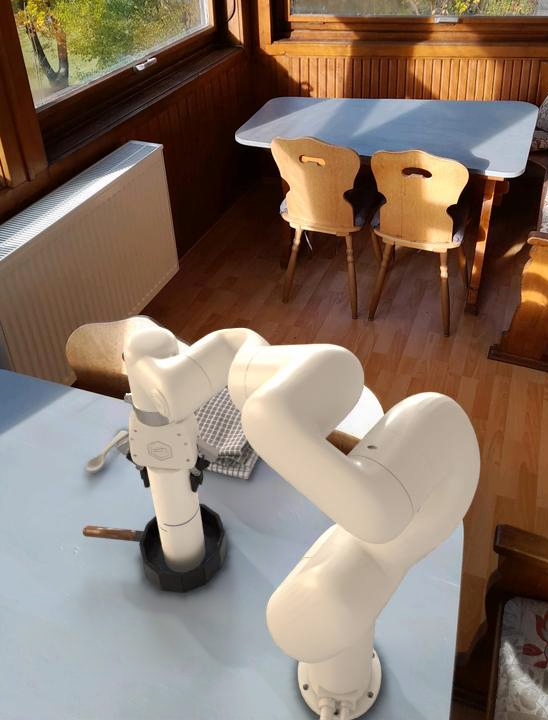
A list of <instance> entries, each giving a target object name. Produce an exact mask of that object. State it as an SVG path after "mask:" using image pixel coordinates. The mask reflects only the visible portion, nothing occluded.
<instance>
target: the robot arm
mask: <svg viewBox="0 0 548 720" xmlns="http://www.w3.org/2000/svg"><path fill="white" fill-rule="evenodd" d="M122 349H123V351H122V352H123V360H124V364H125V365H124V366H125V369H126V374H127V379H128V384H129V389H130V393H125V394H124V399H123V401H124V403H125V404H126V403H127V404H130V406H132V409H130V412H129V419H128V433H129V435H128V436H127V437H125V438H124V439H122V440H121V441H119V442H118V443H117V445H116V450H117V451H118V452H120V453H121V455H123V456H125V458H126V460H127V461H129V462H130V463H132V464H133V465H135V467H134V469H136V470H137V471H139V474H140V479H141V480H142V482H143V488H145V489H149V488H151V487H150V482H149V476H148V471H147V467H156V468H167V469H180V470H187V469H189V470H190V471H191V474H190V482H191V489H192V491H193V492H197V493H198V489H199V486H202V485H203V482H204V480H205V479H204V478H205V477H204V470H207V469H206V468H207V467H209V465H210V464H211V463H213V462H214V461H215V460H216V459H217V458H218V455H219V450H218V449H216V448H215V447H213V446H211V445H210V444H208V443H207V442H205V441H203V440H202V439H201V436H200V431H199V427H198V423H197V420H196V417H195V413H196V411H197V410H198V409H199V408H200V407H201V406H203V405H204V404H205V403H206V402H208V401H209V400H210V399H211V398H212V397H214V396H215V395H216V394H217V393H219V392H220V391H221V390H222V389H224V388H227V389H228V390H229V394H230V397H231V400H232V402H233V404H234V405H235V407H236V408H237V409H238V410H239V411H241V412H242V414H241V424H242V428H243V432H244V434H245V437H246V438H247V440H248V442H249V444H250V445H251V447H252V448H253V449H254V450H255V451H256V453H257V454H258V455H259V457H260V459H262V461H264V462H265V463H266V464H267V465H268V466H269V467H270V468H271V469H272V470H273V471H275V472H276V473H277V474H278V475H279V476H280V477H281V478H282V479H284V480H285V481H286V482H287V483H289V485H291V486H292V487H293V488H294V489H296V490H297V491H298V492H299V493H301V495H303V496H304V497H305V498H306V499H308V500H309V501H310V502H311V503H312V504H313V505H315V506H316V507H317V508H318V509H319V510H321V512H323V514H325V515H326V516H328V518H330V519H331V520H332V521H333V522H334V523H335V524H333V525H331V526H330V527H329V528H328V529H326V530H325V531H324V532H323V533H322V534H321V535H320V536H319V537H318V539H317V540H316V541H315V542H314V543H313V544H312V546H311V547H310V548H309V549H308V550H307V551H306V552H305V554H304V555H303V556H302V558H301V559H300V560H299V561H298V563H297V564H296V565H295V567H294V568H293V569H292V570H291V571H290V572H289V574H288V575H287V576H286V578H284V579H283V581H282V582H281V584H280V585H279V586H278V587H277V588H276V589H275V591H274V592H273V593H272V595H271V596H270V598H269V600H268V602H267V605H266V612H265V618H266V624H267V628H268V631H269V634H270V636H271V638H272V639H273V641H274V643H275V644H276V646H277V647H278V648H279V649H280V650H281V651H282V652H283V653H284V654H285V655H287V656H288V657H290V658H292V659H293V660H296V661H298V667H297V680H298V687H299V690H300V693H301V694H300V695H301V696H302V698H303V700H304V701H305V703H306V704H307V706H308V707H309V708H310V709H311V710H312V711H313V712H315V714H317V715H318V716H319V720H355V719H357V718H359V717H360V716H363V715H364V714H366V713H367V712H368V710H369V709H370V708H371V707H372V706H373V704H374V703H375V702H376V699H378V698H377V697H378V695H379V693H380V689H381V684H382V666H381V662H380V659H379V655H378V653H377V651H376V649H375V648H374V645H375V632H376V622H377V619H379V617H380V615H381V614H382V612H383V611H384V610H385V608H386V606H387V605H388V603H389V602H390V600H391V599H392V597H393V596H394V594H395V593H396V592H397V590H398V588H399V587H400V586H401V584H402V582H403V580H404V579H405V577H406V575H407V574H408V573H409V571H410V570H411V569H412V568H413V567H415V566H416V565H417V564H419V563H420V562H421V561H423V560H424V559H425V558H427V557H428V556H429V555H430V554H432V552H434V551H435V550H436V549H438V548H439V547H440V546H441V545H442V544H443V543H445V542H446V541H447V540H448V539H449V538H450V536H451V535H452V534H454V532H455V531H456V529H457V528H458V527H459V525H460V523H462V521H463V519H464V518H465V517H466V515H467V512H468V511H469V509H470V506H471V505H472V502H473V500H474V497H475V494H476V491H477V488H478V485H479V481H480V480H479V479H480V473H481V454H480V447H479V442H478V438H477V435H476V432H475V429H474V426H473V425H472V422H471V421H470V418H469V416H468V415H467V413H466V412H465V410H464V409H463V408H462V406H461V405H460V404H459V403H458V402H456V401H455V400H454V399H453V398H451V397H449V396H448V395H445V394H443V393H440V392H434V391H427V392H425V391H424V392H419V393H416V394H413V395H411V396H408V397H406V398H404V399H403V400H401V401H400V402H398V403H396V404H395V405H393V406H392V407H391V408H390V409H389V410H387V412H386V413H384V415H382V416H381V418H379V420H378V421H377V422H376V423H375V424H374V425H373V426H372V427H371V429H370V430H368V432H367V433H366V434H364V436H363V437H362V438H361V440H359V442H358V443H357V444H356V445H355V446H354V447H353V448H352V450H351V451H349V452H348V454H347V455H346V454H345V453H344V452H342V451H341V450H340V449H339V448H337V447H336V446H335V445H333V444H332V443H331V442H330V441H329V440H327V438H328V437H329V436H330V435H331V434H332V433H333V432H334V431H335V429H336V428H337V427H338V426H339V425H340V424H341V423H342V422H343V421H344V420H345V419H346V418H347V417H348V416H349V414H351V413H352V411H353V410H354V408H355V407H356V406H357V404H358V403H359V401H360V399H361V397H362V395H363V392H364V387H365V371H364V368H363V366H362V363H361V361H360V360H359V358H358V357H357V355H355V354H354V353H353V352H352V351H350V350H349V349H347V348H346V347H343V346H341V345H336V344H333V343H309V344H308V343H307V344H305V343H304V344H281V345H280V344H279V345H271V344H270V343H269V342H268V341H267V340H266V339H265V338H264V337H263V336H262V335H260V334H259V333H258V332H256V331H254V330H252V329H250V328H245V327H237V328H236V327H235V328H234V327H233V328H224V329H219V330H215V331H212V332H210V333H207V334H206V335H204V337H202V338H199V340H197V341H196V342H194V343H193V344H191V345H190V346H189V347H187V348H185V349H184V350H183V351H182V352H180V350H179V349H180V348H179V342H178V339H177V337H176V336H175V334H173V332H172V331H171V330H169V329H167V328H164V327H161V326H148V327H143V328H141V329H138V330H137V331H134V332H133V333H131V334H130V335H129V337H128V338H127V339H126V340H125V342H124V345H123V348H122ZM198 451H199V452H201V453H202V454H204V456H201V454H200V453H199V452H198Z"/></svg>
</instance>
